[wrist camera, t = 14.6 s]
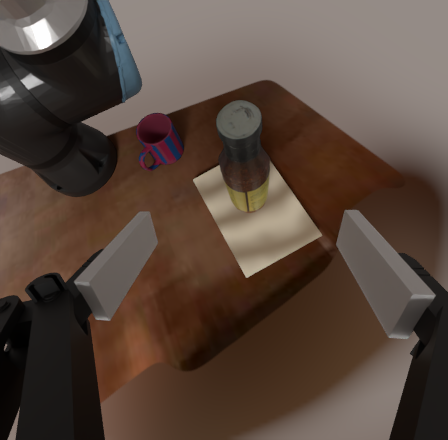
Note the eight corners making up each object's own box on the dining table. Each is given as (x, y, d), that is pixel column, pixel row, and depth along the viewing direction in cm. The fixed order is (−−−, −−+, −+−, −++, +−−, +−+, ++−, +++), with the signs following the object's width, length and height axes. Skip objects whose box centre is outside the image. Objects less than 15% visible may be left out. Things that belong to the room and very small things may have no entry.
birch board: (195, 184, 41) (192, 179, 40) (258, 149, 42) (258, 143, 40) (246, 277, 36) (246, 278, 34) (318, 237, 36) (322, 235, 34)
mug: (189, 143, 44) (179, 120, 37) (163, 183, 42) (148, 166, 36) (164, 131, 46) (149, 107, 39) (138, 170, 44) (118, 151, 37)
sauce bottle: (267, 181, 38) (283, 85, 19) (266, 215, 36) (283, 148, 17) (230, 181, 39) (209, 89, 19) (228, 214, 37) (203, 149, 18)
